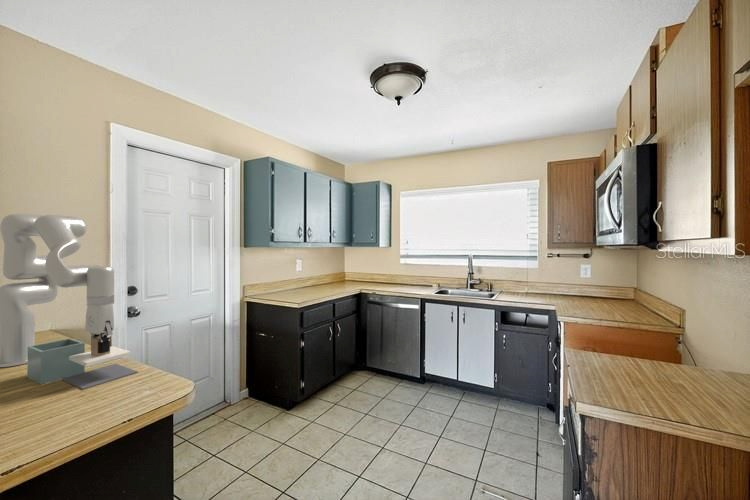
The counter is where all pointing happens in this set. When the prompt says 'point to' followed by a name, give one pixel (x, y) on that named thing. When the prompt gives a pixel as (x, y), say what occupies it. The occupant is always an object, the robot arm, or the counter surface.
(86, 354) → the lid
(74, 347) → the teal storage bin
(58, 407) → the counter surface
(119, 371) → the mat
